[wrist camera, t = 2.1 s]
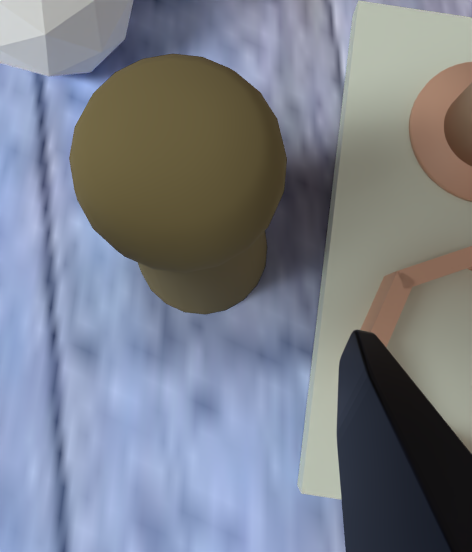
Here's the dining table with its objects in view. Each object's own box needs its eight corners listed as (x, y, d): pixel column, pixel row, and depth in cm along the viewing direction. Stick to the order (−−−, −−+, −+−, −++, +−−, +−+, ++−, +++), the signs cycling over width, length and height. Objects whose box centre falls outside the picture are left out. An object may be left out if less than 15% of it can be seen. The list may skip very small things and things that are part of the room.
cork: (263, 185, 20) (305, 1, 9) (271, 310, 19) (329, 268, 8) (136, 190, 20) (28, 9, 9) (138, 317, 19) (21, 284, 8)
